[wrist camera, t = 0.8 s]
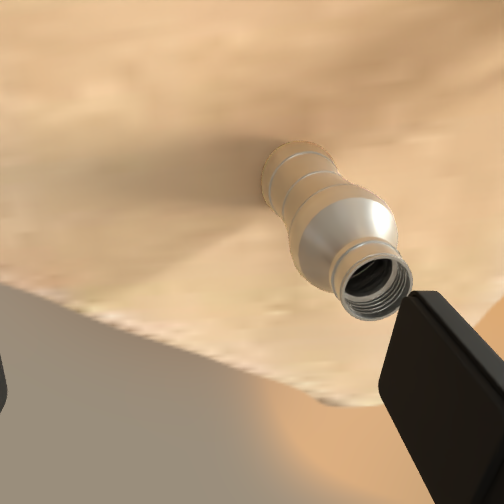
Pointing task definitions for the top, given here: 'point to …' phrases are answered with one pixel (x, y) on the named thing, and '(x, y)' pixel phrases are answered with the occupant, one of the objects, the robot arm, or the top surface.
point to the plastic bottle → (337, 231)
